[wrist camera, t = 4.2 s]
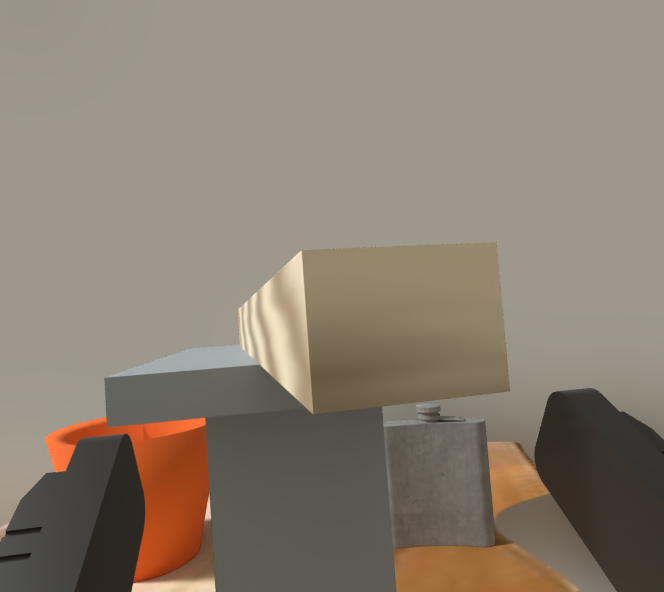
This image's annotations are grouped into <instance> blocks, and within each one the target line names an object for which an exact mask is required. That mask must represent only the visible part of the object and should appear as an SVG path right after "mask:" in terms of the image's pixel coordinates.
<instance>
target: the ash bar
mask: <svg viewBox="0 0 664 592" xmlns="http://www.w3.org/2000/svg"><path fill="white" fill-rule="evenodd" d="M238 321H239V337H240V347H241V348H242V349H243V350H244V351H245V352H246V353H248V354H249V355H250V356H251V357H252V358H253V359H254V360H255V361H256V362H257V363H258V364H259V365H260V366H262V367H263V368H264V369H265V370H266V371H267V372H268V373H269V374H270V375H271V376H272V377H273V378H274V379H276V380H277V381H278V382H279V383H280V384H281V385H282V386H283V387H284V388H285V389H286V390H287V391H289V392H290V393H291V394H292V395H293V396H294V397H295V398H296V399H297V400H298V401H299V402H300V403H301V404H303V405H304V406H305V407H306V408H307V409H308V410H309V411H310V412H311V413H312V414H322V413H330V412H339V411H347V410H356V409H364V408H373V407H381V406H390V405H398V404H407V403H415V402H423V401H432V400H440V399H449V398H458V397H466V396H474V395H483V394H491V393H500V392H508V391H510V386H509V376H508V364H507V353H506V342H505V331H504V320H503V308H502V297H501V286H500V275H499V265H498V253H497V243H496V242H494V243H492V242H491V243H467V244H442V245H418V246H393V247H368V248H344V249H318V250H301V251H300V252H299V253H298V254H297V255H296V256H295V257H294V258H293V259H292V260H291V261H290V262H288V263H287V264H286V265H285V266H284V267H283V268H282V269H281V270H280V271H279V272H278V273H277V274H276V275H275V276H273V278H271V279H270V280H269V281H268V282H267V283H266V284H265V285H264V286H263V287H262V288H261V289H260V290H258V291H257V293H255V294H254V295H253V296H252V297H251V298H250V299H249V300H248V301H247V302H246V303H245V304H244V305H243V306H241V307H240V308H239V309H238Z"/></svg>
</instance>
